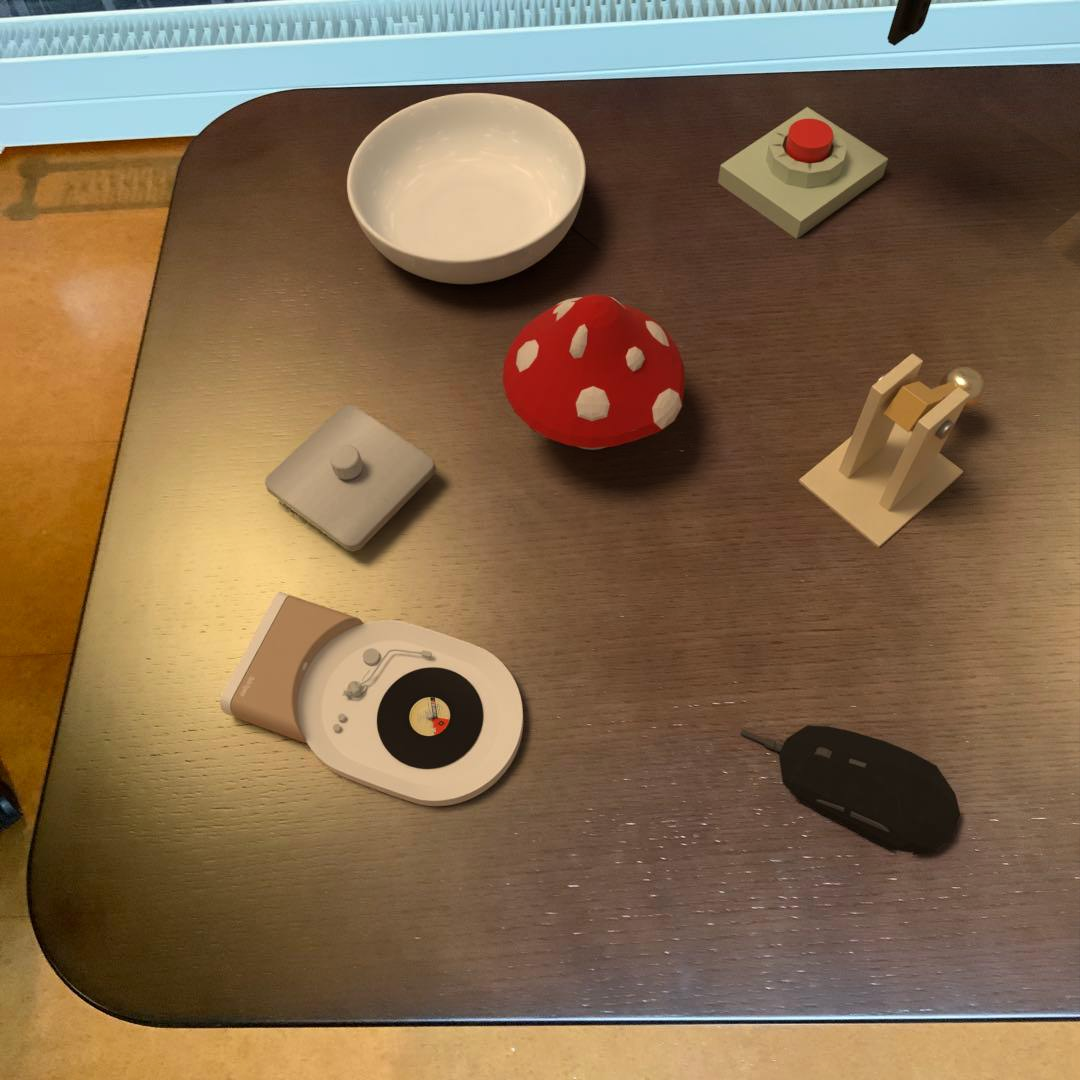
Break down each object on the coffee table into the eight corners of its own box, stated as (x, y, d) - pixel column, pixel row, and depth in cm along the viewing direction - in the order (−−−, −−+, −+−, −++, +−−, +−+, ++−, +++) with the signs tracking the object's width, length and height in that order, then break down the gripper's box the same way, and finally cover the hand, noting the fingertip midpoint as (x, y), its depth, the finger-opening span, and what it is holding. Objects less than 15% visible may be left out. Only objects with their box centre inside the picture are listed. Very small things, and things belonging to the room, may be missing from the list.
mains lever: (941, 389, 83) (965, 355, 81) (974, 413, 81) (999, 380, 79) (874, 413, 74) (899, 377, 72) (910, 441, 73) (937, 404, 71)
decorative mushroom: (502, 366, 89) (490, 234, 76) (664, 354, 89) (679, 220, 76) (512, 507, 82) (501, 388, 69) (687, 494, 82) (709, 372, 69)
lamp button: (805, 128, 97) (809, 112, 96) (838, 149, 96) (842, 133, 94) (776, 148, 96) (779, 132, 95) (809, 170, 95) (813, 154, 93)
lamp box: (803, 125, 103) (811, 90, 100) (882, 177, 99) (893, 142, 96) (717, 183, 99) (722, 148, 96) (796, 239, 95) (805, 205, 92)
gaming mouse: (757, 694, 74) (766, 672, 70) (965, 788, 70) (986, 770, 67) (723, 772, 71) (730, 753, 68) (937, 874, 67) (957, 860, 64)
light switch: (358, 567, 80) (346, 534, 75) (268, 501, 83) (251, 465, 79) (443, 480, 83) (436, 444, 79) (353, 420, 87) (341, 382, 82)
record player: (286, 573, 76) (546, 659, 72) (296, 592, 79) (546, 676, 75) (208, 718, 71) (484, 819, 67) (221, 733, 73) (486, 831, 70)
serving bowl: (331, 192, 100) (315, 131, 94) (532, 129, 104) (530, 67, 98) (403, 345, 90) (391, 289, 84) (623, 271, 94) (626, 211, 88)
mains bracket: (879, 418, 85) (921, 319, 75) (959, 479, 82) (1014, 385, 72) (796, 487, 82) (827, 394, 72) (875, 554, 79) (920, 466, 69)
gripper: (1067, -215, 65) (973, 37, 80) (848, -307, 72) (799, -58, 86) (994, -169, 63) (911, 81, 77) (775, -269, 69) (737, -20, 84)
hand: (852, 8), depth 82 cm, fingers open, 9 cm apart
